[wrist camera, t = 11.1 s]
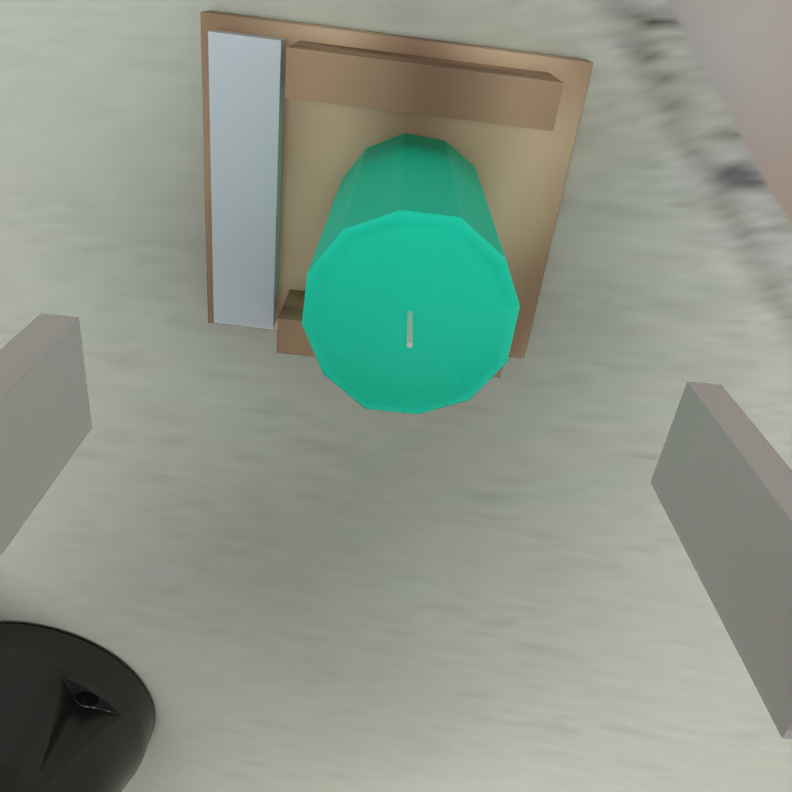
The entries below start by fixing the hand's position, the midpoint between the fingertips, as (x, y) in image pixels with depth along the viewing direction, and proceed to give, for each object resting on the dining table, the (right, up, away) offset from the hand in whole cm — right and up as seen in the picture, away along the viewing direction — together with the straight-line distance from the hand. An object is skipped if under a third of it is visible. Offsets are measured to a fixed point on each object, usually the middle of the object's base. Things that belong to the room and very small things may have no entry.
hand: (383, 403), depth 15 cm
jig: (0, +8, +14) cm, 16 cm away
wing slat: (-6, +8, +12) cm, 16 cm away
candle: (+1, +8, +13) cm, 15 cm away
